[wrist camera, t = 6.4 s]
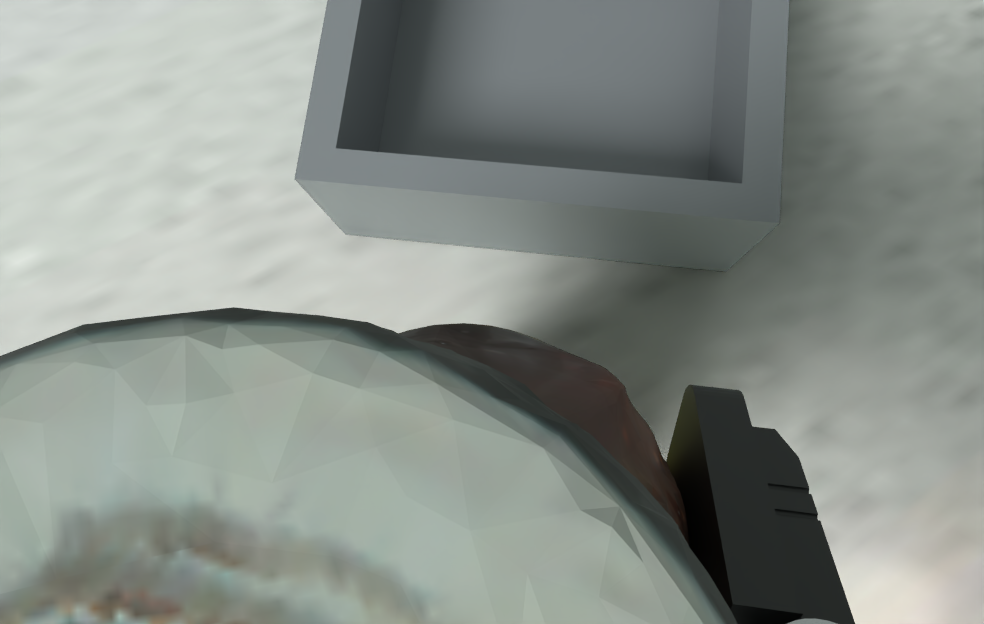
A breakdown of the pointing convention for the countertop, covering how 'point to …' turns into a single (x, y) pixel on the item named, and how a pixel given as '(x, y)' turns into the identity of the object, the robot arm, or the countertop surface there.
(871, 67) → the countertop surface
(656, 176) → the gray tray
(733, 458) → the robot arm
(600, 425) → the sauce bottle
